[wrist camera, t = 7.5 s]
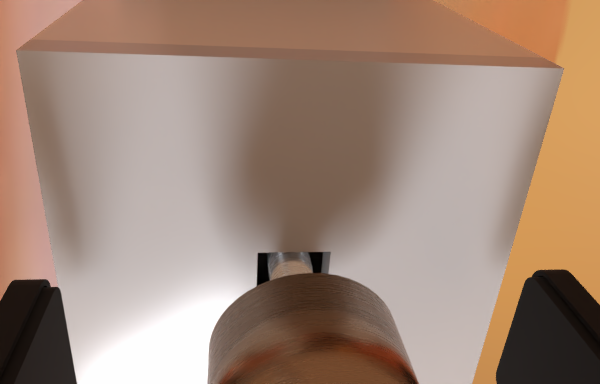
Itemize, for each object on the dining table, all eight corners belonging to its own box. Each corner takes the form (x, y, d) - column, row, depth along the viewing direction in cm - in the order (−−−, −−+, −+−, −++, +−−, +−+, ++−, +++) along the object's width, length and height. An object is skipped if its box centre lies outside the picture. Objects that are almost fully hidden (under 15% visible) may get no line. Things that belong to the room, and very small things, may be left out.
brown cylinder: (178, -11, 25) (19, 312, 6) (336, -3, 26) (648, 295, 7) (183, 138, 28) (95, 651, 9) (323, 140, 29) (506, 608, 10)
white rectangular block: (147, -49, 25) (16, 50, 9) (408, -34, 27) (667, 72, 11) (159, 154, 30) (86, 444, 14) (380, 156, 31) (534, 418, 16)
